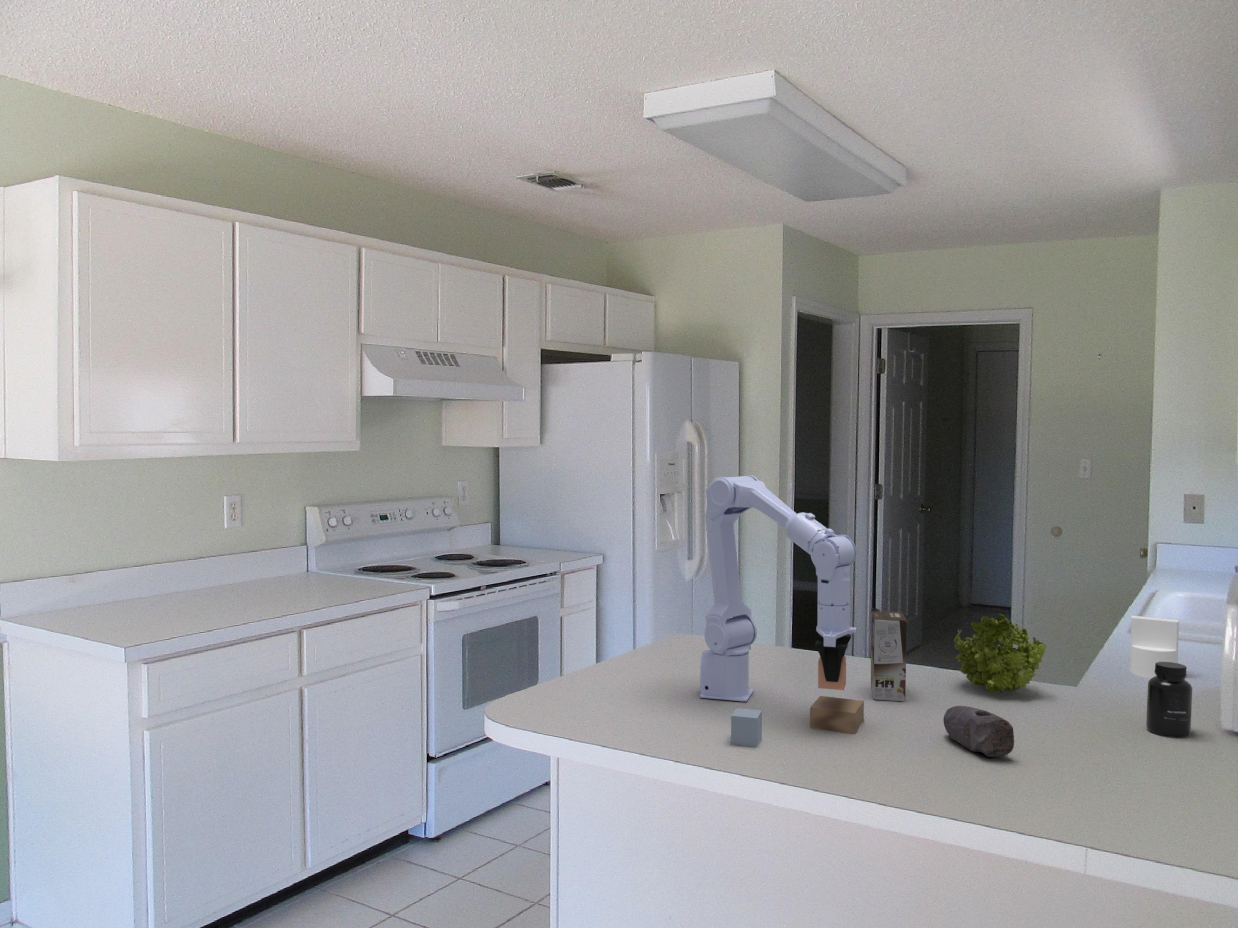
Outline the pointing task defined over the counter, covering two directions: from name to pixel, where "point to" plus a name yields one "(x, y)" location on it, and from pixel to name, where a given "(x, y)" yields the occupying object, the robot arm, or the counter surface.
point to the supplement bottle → (1169, 701)
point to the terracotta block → (832, 685)
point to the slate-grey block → (746, 727)
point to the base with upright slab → (1152, 644)
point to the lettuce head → (999, 655)
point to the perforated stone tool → (979, 730)
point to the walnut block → (837, 714)
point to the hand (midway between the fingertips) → (833, 677)
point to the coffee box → (888, 655)
